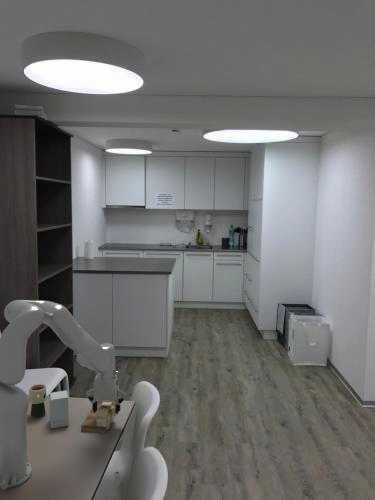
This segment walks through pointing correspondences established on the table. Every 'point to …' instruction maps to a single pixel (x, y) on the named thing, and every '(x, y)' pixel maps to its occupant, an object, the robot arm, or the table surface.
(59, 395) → the supplement box
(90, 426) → the walnut board
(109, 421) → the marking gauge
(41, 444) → the table surface
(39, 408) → the character mug
